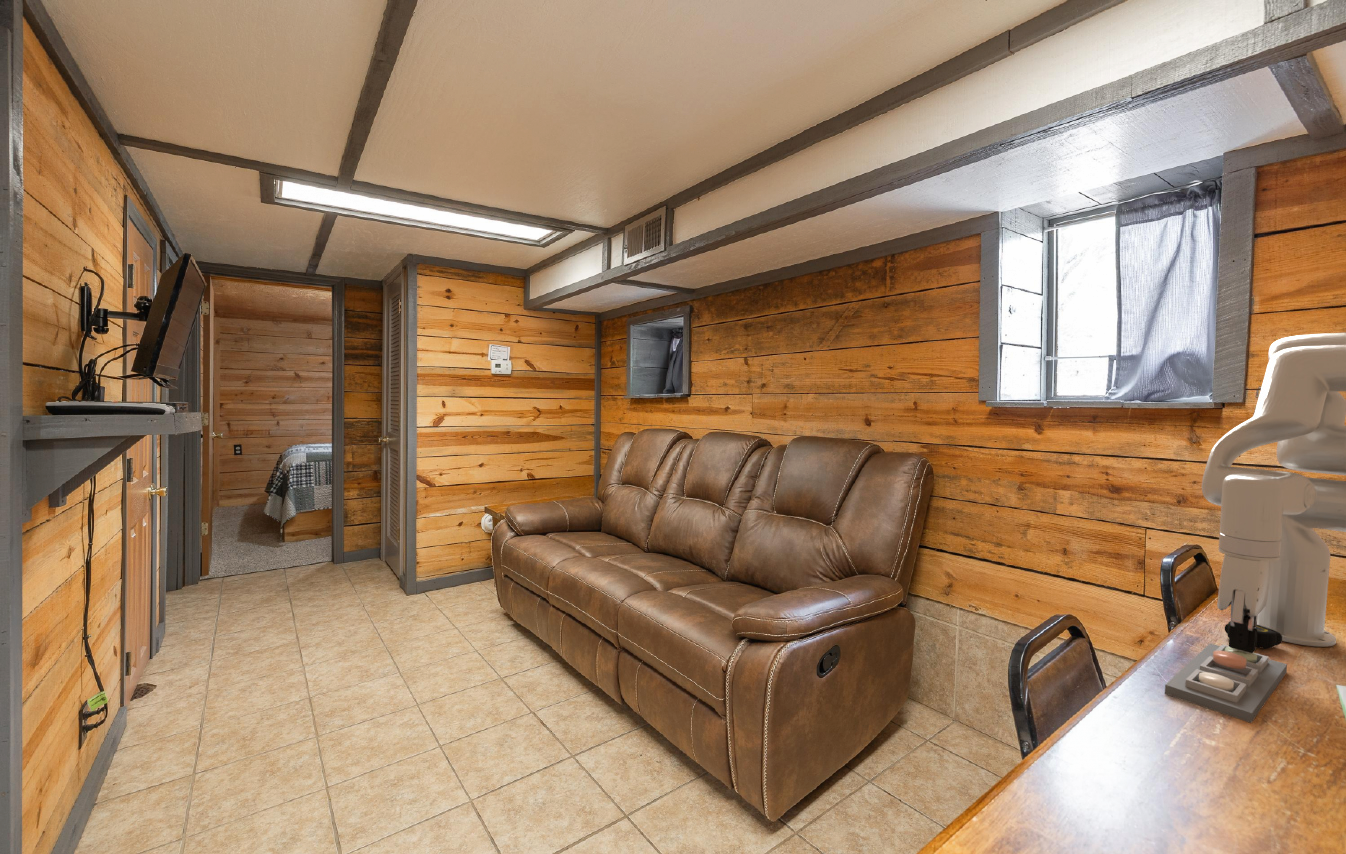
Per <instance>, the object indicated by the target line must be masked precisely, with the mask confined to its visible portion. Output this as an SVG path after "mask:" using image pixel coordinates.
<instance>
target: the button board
mask: <svg viewBox="0 0 1346 854" xmlns="http://www.w3.org/2000/svg"><path fill="white" fill-rule="evenodd" d="M1226 647H1229V645H1227V644H1223V643H1221V645H1218V644H1215V643H1211V642H1210V643H1209V644H1207V645H1206V646H1205V647H1204V648H1203V649H1201V651H1200V652H1198V654H1197V655H1196V656H1194V657H1193V659H1191V660H1190V661H1189V662H1188V663H1187V664H1185V666H1184V667H1183V668H1182V669H1180V670H1179V671H1178V672H1177V673H1176V674H1175V675H1174V676H1173V677H1172V678H1171V679H1170V680H1169V681H1168V682H1166V683H1165V685H1164V695H1168V696H1171V697H1174V698H1176V699H1179V700H1182V701H1185V702H1189V703H1190V704H1191V703H1192V704H1193V705H1197V706H1199V707H1203V708H1206V709H1208V710H1212V711H1215V712H1218V713H1220V714H1223V715H1227V716H1229V717H1233V718H1236V719H1238V720H1242V721H1244V722H1246V723H1249V724H1252V723H1253V721H1254V720H1255V718H1256V717H1257V715H1259V713H1260V712H1261V709H1262V708H1263V707H1264V705H1265V704H1266V703H1267V701H1269V698H1270V697H1271V695H1272V694H1273V693H1274V691H1275V690H1276V688H1277V687H1278V686H1279V684H1280V682H1282V680H1283V678H1284V676H1286V674H1287V671H1288V664H1287V663H1284V662H1281V661H1277V660H1273V659H1270V658H1269V656H1268V655H1263V654H1260V653H1255V652H1254V653H1255V654H1256V655H1257V663H1256V664H1255V663H1251V662H1248V661H1246V668H1245V669H1236V668H1230V667H1227V666H1223V665H1221V664H1218V663H1216V662H1215V661H1214V660H1213V652H1214V651H1225V648H1226ZM1202 672H1208V673H1214V674H1218V675H1222V676H1224V677H1227V678H1229V679H1231V680H1232V681H1233V682H1234V685H1233V691H1232V692H1228V691H1225V690H1222V689H1219V688H1215V687H1212V686H1209V685H1206V684H1203V683H1200V682H1199V673H1202Z"/></svg>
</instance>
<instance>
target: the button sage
mask: <svg viewBox="0 0 1346 854" xmlns="http://www.w3.org/2000/svg"><path fill="white" fill-rule="evenodd" d="M1225 651H1227V652H1231V653H1235V654H1238V655H1240V656H1243V657H1244V658H1246V660H1247V661H1248V662H1251V663H1255V664H1256V663H1257V655H1256V654H1255V652H1253V653H1249V652H1245V651H1241V650H1238V649H1234V648H1231V647H1226V648H1225Z"/></svg>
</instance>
